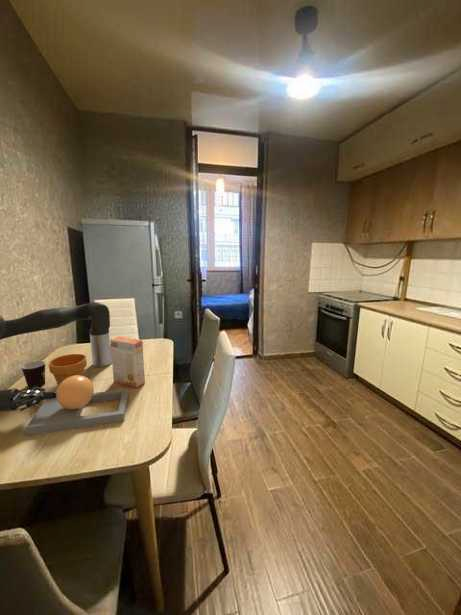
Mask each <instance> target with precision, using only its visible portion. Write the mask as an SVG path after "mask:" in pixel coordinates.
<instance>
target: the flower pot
mask: <svg viewBox="0 0 461 615" xmlns="http://www.w3.org/2000/svg"><path fill="white" fill-rule="evenodd" d="M87 364H88V363H87V356H86V355H85V354H81V353H72V354H71V353H70V354H64V355H60V356H57V357H55V358H53V359H51V360H49V362H48V369H49V373H50V374H51V375H53V377H54V380H55V382H56V384H57V387H58V386H59V385H60V384H61V382H62V381H64V380H65V379H66V378H68V377H71V376H75V375H80V376H84V377H85V375H84V374H85V368H86V367H87Z"/></svg>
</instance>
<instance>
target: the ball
mask: <svg viewBox="0 0 461 615" xmlns="http://www.w3.org/2000/svg"><path fill="white" fill-rule="evenodd" d="M94 390H95V388H94V384H93V383H92V380H90V378H88V377H86V376H85V375H84V376H80V375H75V376H71V377H68V378H66V379H65V380H64V381H62V382H61V384H60V385H59V386H58V385H57V389H56V391H57V392H56V398H57V401H58V403H59V404H60V405H61V406H62V407H64V408H66V409H78V408H81V407H83V406H84V407H85V406H86V405H87V404H89V403H88V402H89V401H90V400H91V398H92V396H93V393H95V392H94Z"/></svg>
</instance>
